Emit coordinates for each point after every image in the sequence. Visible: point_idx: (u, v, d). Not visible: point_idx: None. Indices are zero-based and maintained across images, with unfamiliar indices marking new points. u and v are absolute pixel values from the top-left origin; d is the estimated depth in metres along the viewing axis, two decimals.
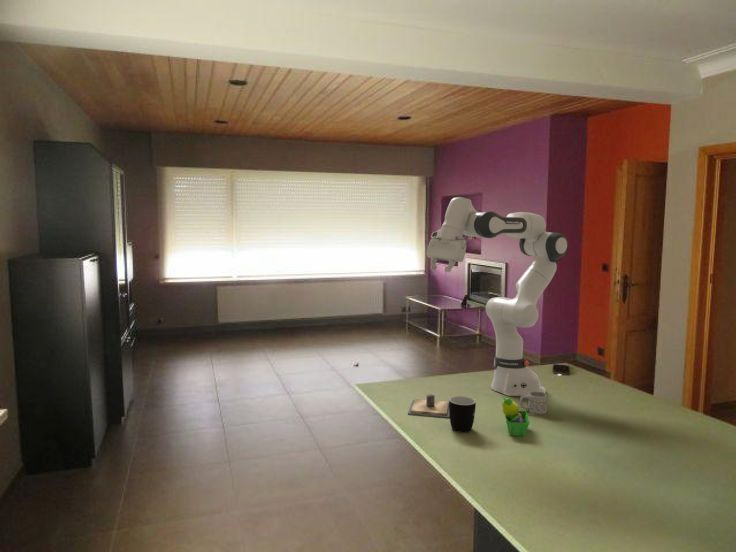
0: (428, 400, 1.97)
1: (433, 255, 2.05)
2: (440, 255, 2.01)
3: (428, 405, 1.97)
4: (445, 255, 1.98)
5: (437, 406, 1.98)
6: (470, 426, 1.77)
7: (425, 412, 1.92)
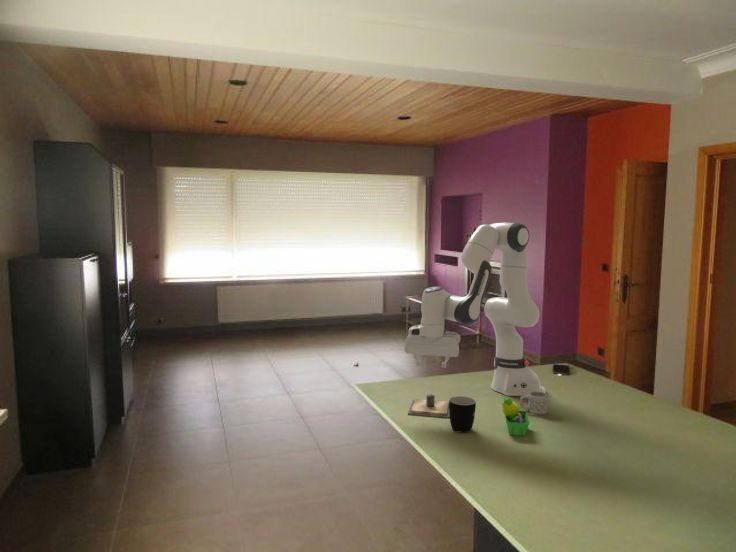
0: (428, 400, 1.97)
1: (418, 352, 1.95)
2: (430, 352, 1.94)
3: (428, 405, 1.97)
4: (439, 352, 1.94)
5: (437, 406, 1.98)
6: (470, 426, 1.77)
7: (425, 412, 1.92)
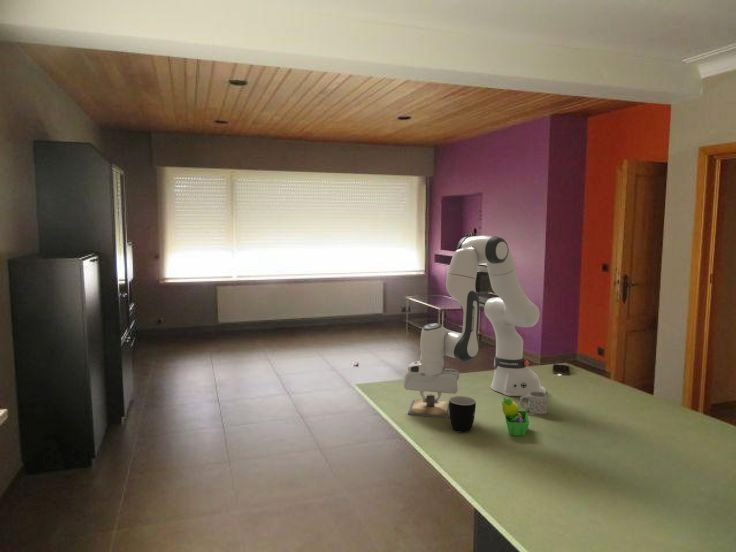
0: (428, 400, 1.97)
1: (418, 389, 1.97)
2: (430, 389, 1.96)
3: (428, 405, 1.97)
4: (438, 389, 1.95)
5: (437, 406, 1.98)
6: (470, 426, 1.77)
7: (425, 412, 1.92)
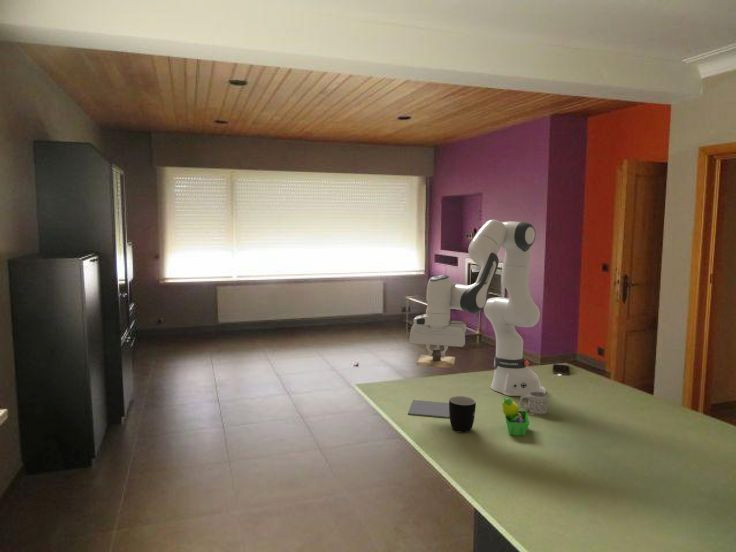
0: (434, 354, 1.92)
1: (424, 342, 1.92)
2: (436, 342, 1.91)
3: (434, 359, 1.92)
4: (445, 342, 1.90)
5: (443, 360, 1.93)
6: (470, 426, 1.77)
7: (431, 365, 1.87)
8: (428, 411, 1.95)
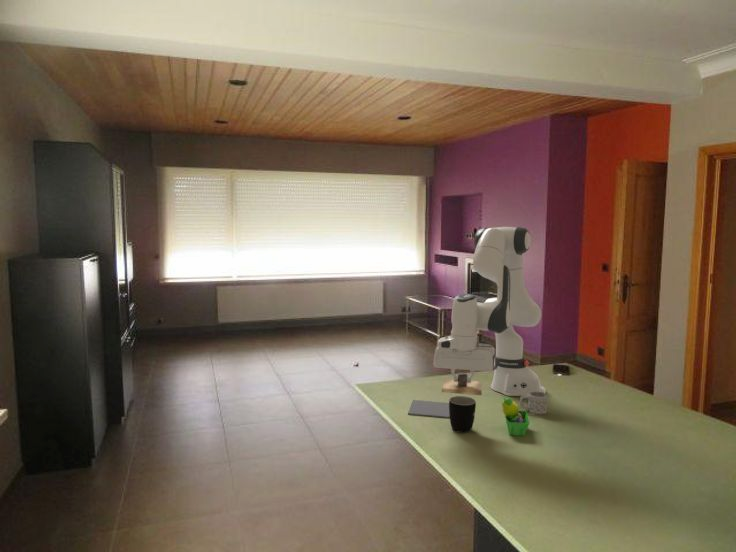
0: (460, 379, 1.78)
1: (449, 367, 1.78)
2: (462, 367, 1.77)
3: (460, 384, 1.79)
4: (471, 367, 1.77)
5: (469, 385, 1.80)
6: (470, 426, 1.77)
7: (457, 392, 1.74)
8: (428, 411, 1.95)
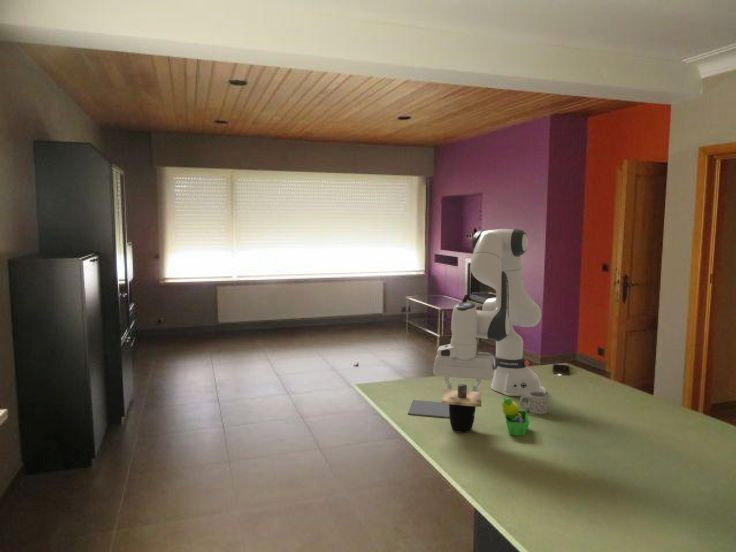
0: (460, 390, 1.79)
1: (448, 375, 1.79)
2: (462, 375, 1.78)
3: (460, 396, 1.79)
4: (471, 375, 1.77)
5: (469, 396, 1.80)
6: (470, 426, 1.77)
7: (457, 403, 1.74)
8: (428, 411, 1.95)
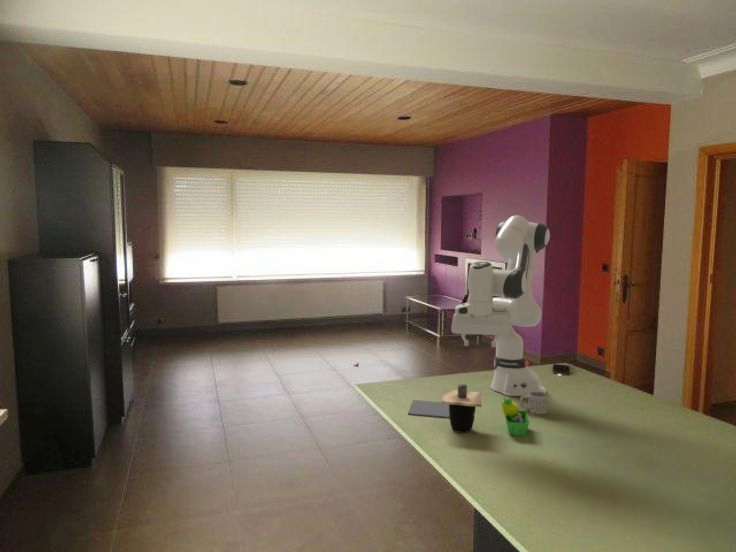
0: (460, 390, 1.79)
1: (466, 332, 1.85)
2: (479, 331, 1.84)
3: (460, 396, 1.79)
4: (488, 331, 1.83)
5: (469, 396, 1.80)
6: (470, 426, 1.77)
7: (457, 403, 1.74)
8: (428, 411, 1.95)
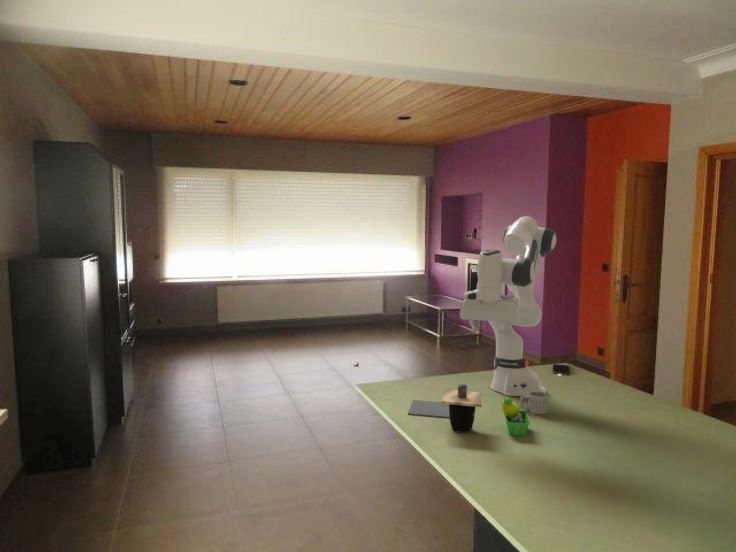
0: (460, 390, 1.79)
1: (474, 318, 1.88)
2: (487, 318, 1.87)
3: (460, 396, 1.79)
4: (496, 318, 1.86)
5: (469, 397, 1.80)
6: (470, 426, 1.77)
7: (457, 403, 1.74)
8: (428, 411, 1.95)
